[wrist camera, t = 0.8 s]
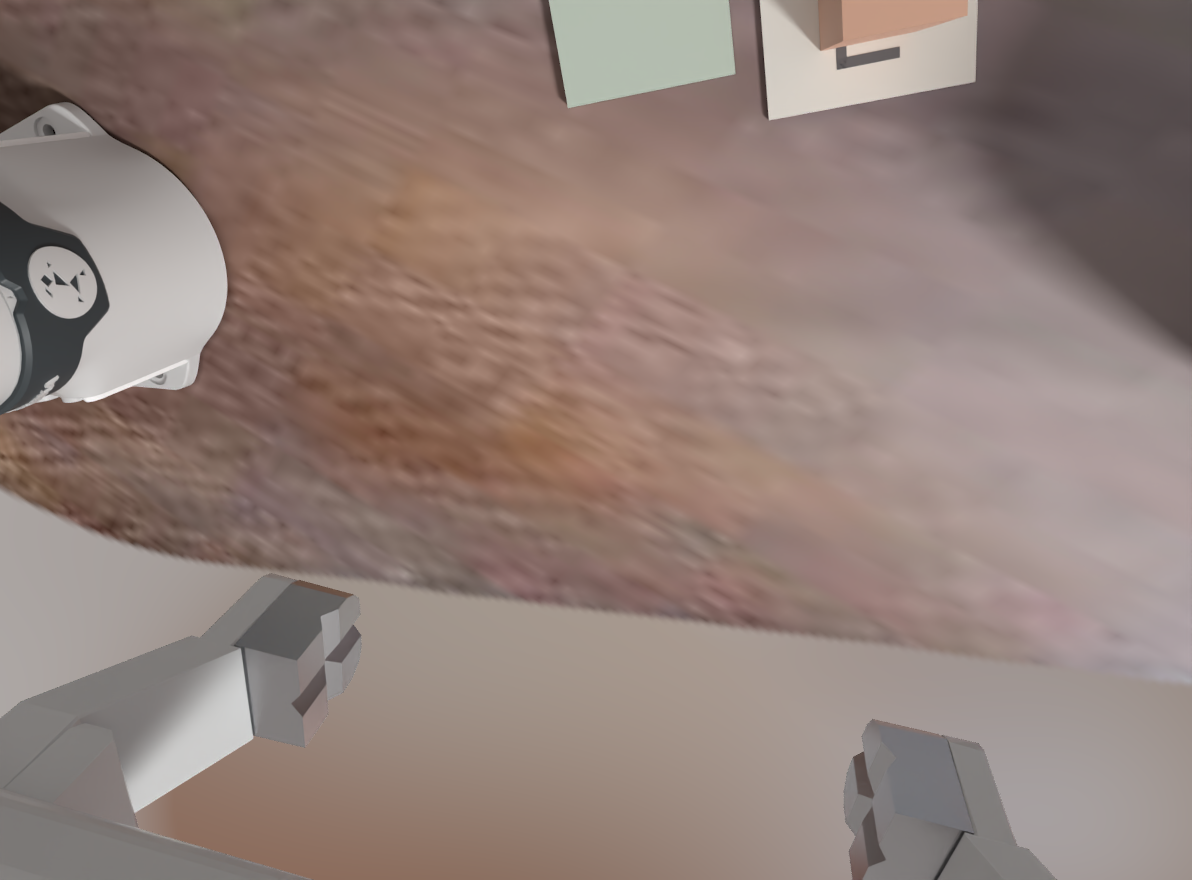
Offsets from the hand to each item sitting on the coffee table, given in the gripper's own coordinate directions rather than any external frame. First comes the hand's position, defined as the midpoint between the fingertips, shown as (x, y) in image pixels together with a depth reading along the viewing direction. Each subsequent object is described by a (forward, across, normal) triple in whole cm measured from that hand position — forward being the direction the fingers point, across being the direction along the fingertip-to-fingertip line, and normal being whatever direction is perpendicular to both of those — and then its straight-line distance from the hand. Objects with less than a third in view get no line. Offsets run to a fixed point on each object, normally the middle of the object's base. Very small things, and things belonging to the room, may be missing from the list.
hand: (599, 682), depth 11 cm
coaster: (+35, -6, +12) cm, 37 cm away
